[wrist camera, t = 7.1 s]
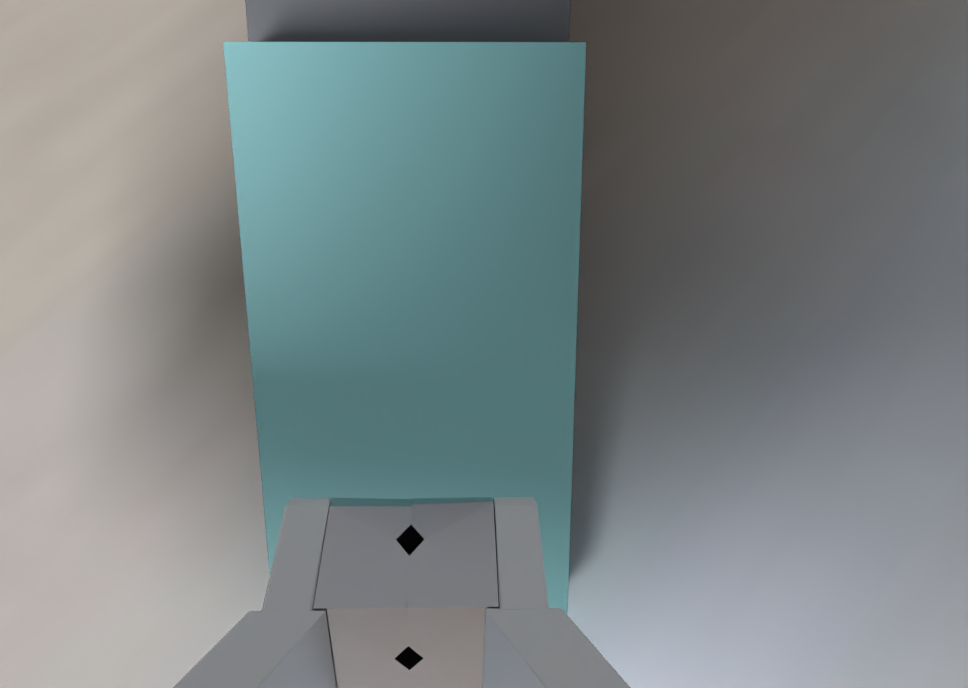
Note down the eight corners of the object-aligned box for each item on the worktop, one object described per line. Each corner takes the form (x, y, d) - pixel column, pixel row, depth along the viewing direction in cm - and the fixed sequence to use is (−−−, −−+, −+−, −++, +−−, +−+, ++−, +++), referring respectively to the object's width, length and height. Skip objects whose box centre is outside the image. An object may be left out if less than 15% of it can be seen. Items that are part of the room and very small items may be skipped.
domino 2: (566, 651, 14) (585, 42, 11) (277, 659, 14) (223, 41, 11) (554, 597, 16) (569, 48, 13) (293, 604, 16) (250, 48, 13)
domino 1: (555, 422, 15) (578, -215, 12) (279, 426, 15) (227, -222, 12) (545, 390, 16) (563, -182, 13) (295, 393, 16) (252, -187, 13)
